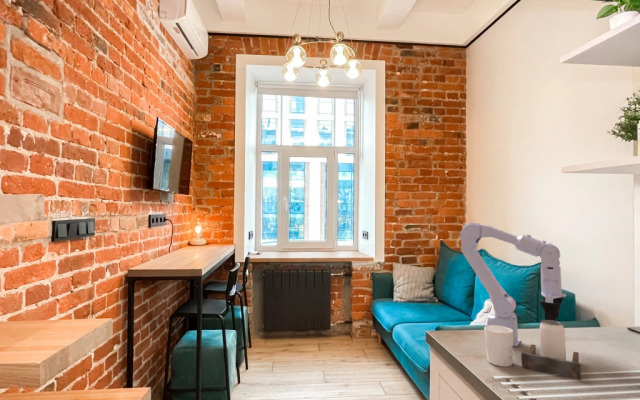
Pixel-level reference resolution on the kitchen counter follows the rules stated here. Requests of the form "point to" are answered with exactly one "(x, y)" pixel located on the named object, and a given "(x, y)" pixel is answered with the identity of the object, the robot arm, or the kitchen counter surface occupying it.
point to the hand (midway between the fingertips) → (552, 320)
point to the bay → (551, 364)
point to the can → (552, 339)
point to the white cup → (499, 345)
